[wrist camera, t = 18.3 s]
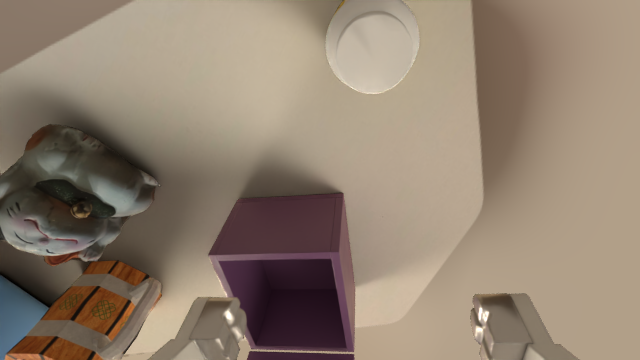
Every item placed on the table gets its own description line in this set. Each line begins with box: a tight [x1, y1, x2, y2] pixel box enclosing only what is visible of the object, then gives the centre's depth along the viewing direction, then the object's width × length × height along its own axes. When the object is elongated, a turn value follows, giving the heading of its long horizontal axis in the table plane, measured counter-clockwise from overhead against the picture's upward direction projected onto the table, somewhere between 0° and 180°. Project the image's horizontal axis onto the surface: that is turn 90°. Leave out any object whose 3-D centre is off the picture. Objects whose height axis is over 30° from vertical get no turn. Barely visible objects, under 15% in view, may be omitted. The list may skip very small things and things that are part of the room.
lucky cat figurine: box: [0, 124, 161, 266], centre depth 37 cm, size 15×12×14 cm
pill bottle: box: [325, 0, 420, 94], centre depth 24 cm, size 6×6×12 cm
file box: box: [208, 193, 355, 352], centre depth 41 cm, size 18×14×10 cm
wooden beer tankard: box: [5, 261, 162, 360], centre depth 47 cm, size 20×14×15 cm
